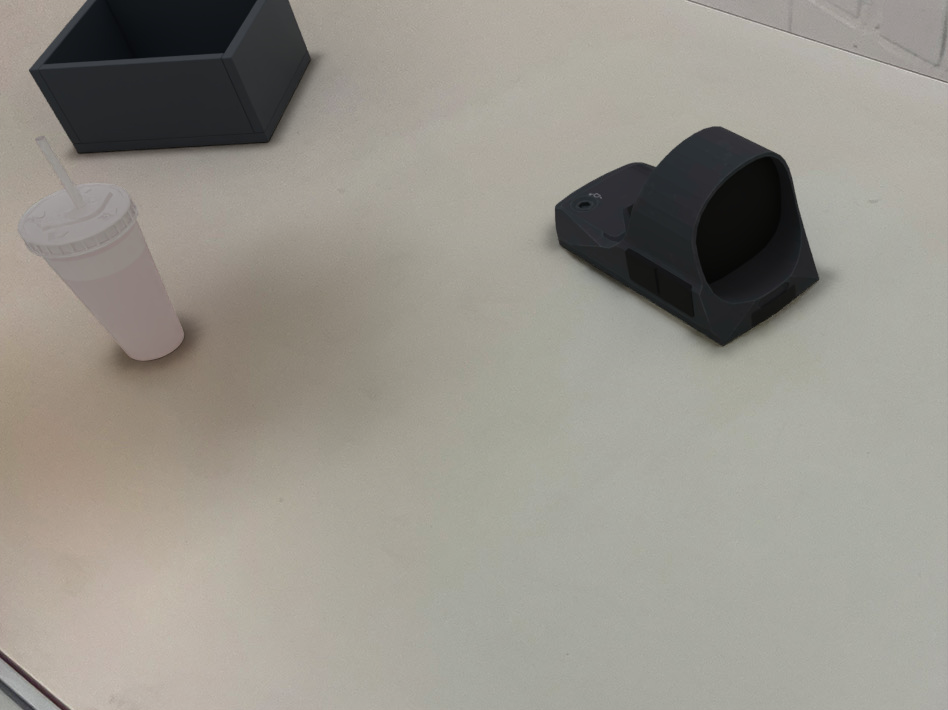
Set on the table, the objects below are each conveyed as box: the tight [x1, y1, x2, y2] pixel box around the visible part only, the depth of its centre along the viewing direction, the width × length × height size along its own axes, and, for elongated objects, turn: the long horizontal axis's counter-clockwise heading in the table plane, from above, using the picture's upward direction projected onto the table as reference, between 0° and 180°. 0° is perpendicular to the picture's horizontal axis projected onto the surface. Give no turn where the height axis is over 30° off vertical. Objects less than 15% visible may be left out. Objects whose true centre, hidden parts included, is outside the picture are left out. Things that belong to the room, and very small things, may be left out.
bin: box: [28, 0, 312, 154], centre depth 87 cm, size 16×14×7 cm
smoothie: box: [17, 135, 185, 362], centre depth 64 cm, size 6×6×14 cm
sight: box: [554, 125, 820, 347], centre depth 68 cm, size 9×18×10 cm, turn 45°
